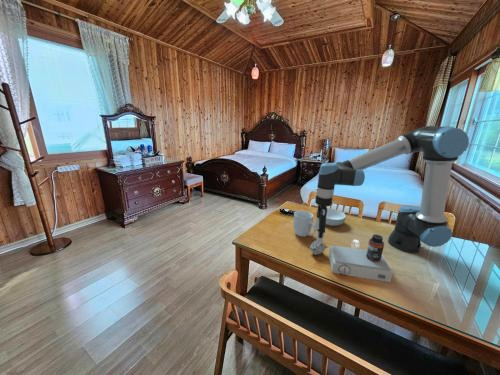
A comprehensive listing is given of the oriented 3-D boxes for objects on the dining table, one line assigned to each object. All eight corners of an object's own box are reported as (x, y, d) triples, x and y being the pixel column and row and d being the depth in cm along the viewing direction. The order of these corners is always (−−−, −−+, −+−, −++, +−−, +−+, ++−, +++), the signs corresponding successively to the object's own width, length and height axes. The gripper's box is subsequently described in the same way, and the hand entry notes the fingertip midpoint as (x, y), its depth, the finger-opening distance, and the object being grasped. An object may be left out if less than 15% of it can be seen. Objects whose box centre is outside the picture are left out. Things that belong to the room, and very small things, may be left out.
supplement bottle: (375, 254, 103) (380, 233, 100) (383, 262, 97) (388, 240, 94) (363, 254, 103) (367, 233, 99) (370, 262, 97) (375, 240, 94)
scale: (380, 262, 107) (382, 251, 105) (391, 283, 93) (394, 271, 91) (328, 254, 112) (330, 244, 110) (331, 273, 98) (333, 262, 97)
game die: (319, 262, 112) (328, 255, 104) (303, 254, 113) (312, 247, 105) (322, 246, 118) (331, 239, 110) (307, 240, 118) (315, 232, 110)
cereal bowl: (314, 217, 154) (316, 208, 152) (338, 217, 154) (339, 208, 152) (322, 229, 138) (323, 219, 136) (348, 229, 138) (350, 219, 136)
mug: (320, 238, 127) (323, 217, 123) (307, 244, 121) (310, 222, 117) (300, 228, 139) (302, 209, 135) (288, 232, 133) (290, 213, 129)
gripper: (314, 187, 115) (310, 223, 122) (317, 204, 92) (311, 248, 98) (329, 189, 114) (324, 225, 120) (336, 206, 90) (328, 251, 97)
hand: (318, 235), depth 109 cm, fingers open, 13 cm apart
